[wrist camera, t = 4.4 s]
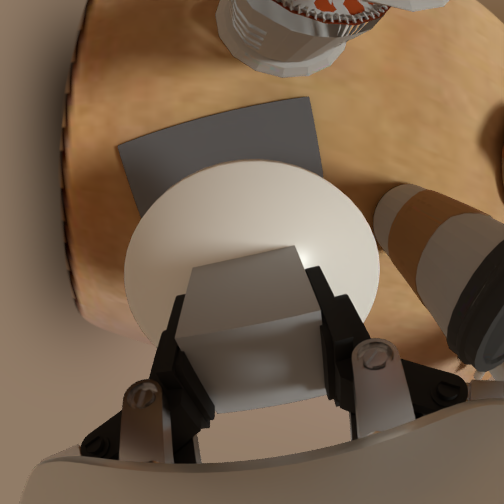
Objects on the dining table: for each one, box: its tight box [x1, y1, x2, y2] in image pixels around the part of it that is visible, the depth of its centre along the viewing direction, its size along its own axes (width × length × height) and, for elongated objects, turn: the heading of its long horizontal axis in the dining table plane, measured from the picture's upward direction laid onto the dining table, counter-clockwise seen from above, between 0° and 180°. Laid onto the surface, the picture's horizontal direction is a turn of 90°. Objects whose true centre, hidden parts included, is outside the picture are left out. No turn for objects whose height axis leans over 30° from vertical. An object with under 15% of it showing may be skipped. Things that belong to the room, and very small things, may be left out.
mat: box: [118, 97, 324, 219], centre depth 22 cm, size 14×14×1 cm
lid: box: [124, 159, 380, 414], centre depth 10 cm, size 11×11×5 cm
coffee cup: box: [373, 184, 504, 372], centre depth 16 cm, size 8×8×15 cm
